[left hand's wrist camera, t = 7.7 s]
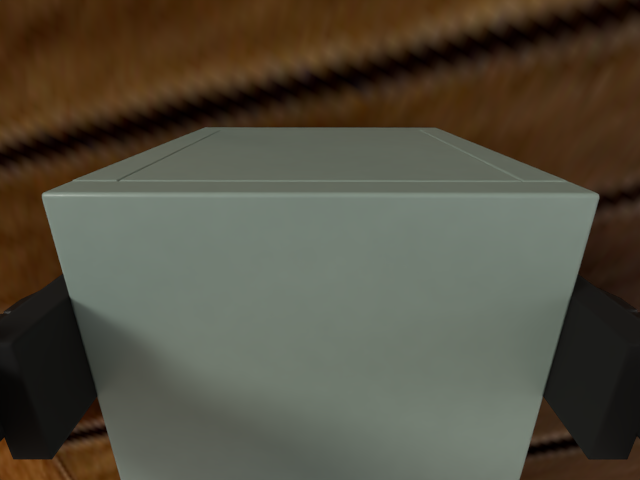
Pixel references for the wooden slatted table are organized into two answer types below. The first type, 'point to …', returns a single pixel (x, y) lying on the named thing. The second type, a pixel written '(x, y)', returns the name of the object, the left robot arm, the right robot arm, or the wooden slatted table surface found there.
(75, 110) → the wooden slatted table surface
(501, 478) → the cabinet
